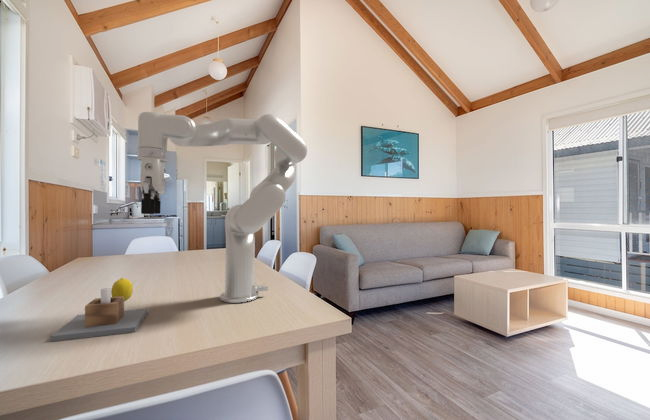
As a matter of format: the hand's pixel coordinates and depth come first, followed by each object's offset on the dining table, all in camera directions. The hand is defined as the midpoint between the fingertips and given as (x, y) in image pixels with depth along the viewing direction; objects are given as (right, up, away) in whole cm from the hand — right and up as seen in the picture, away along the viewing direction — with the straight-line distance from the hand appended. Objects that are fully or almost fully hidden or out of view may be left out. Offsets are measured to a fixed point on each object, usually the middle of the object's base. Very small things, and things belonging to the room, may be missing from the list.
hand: (151, 213), depth 86 cm
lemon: (-12, -28, +5) cm, 31 cm away
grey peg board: (-4, -28, -12) cm, 31 cm away
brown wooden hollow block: (-4, -27, -12) cm, 30 cm away
